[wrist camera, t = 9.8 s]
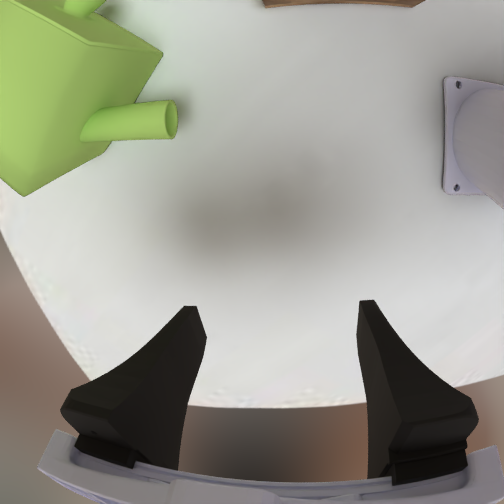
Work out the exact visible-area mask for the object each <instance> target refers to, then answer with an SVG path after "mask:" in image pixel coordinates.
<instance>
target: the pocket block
mask: <svg viewBox="0 0 504 504" xmlns="http://www.w3.org/2000/svg"><path fill="white" fill-rule="evenodd" d="M262 1H263V3H264V5H265V7H266V8H271V7H280V6H290V5H303V4H325V3H358V4H380V5H393V6H403V7H414V6H416V5H418V4H420V3H421V2H423V1H425V0H262Z"/></svg>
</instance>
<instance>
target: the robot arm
mask: <svg viewBox="0 0 504 504" xmlns="http://www.w3.org/2000/svg"><path fill="white" fill-rule="evenodd" d="M457 81H458V82H459V84H460V86H459V88H457V87H456V82H457ZM444 99H445V158H444V176H443V190H444V191H445V192H446V193H447V194H450V195H487V196H489V197H490V198H491V199H492V200H494V201H495V202H496V203H497V204H498V205H499V206H501V207H502V208H503V209H504V85H500V84H495V83H490V82H485V81H479V80H473V79H467V78H460V77H453V76H447V77H446V78H445V79H444ZM456 184H458V187H457V188H456V189H455V190H454V186H455V185H456ZM356 335H357V347H358V356H359V362H360V367H361V372H362V377H363V383H364V388H365V394H366V400H367V412H368V478H367V479H366V480H355V481H342V482H318V483H285V482H262V481H261V482H260V481H247V480H236V479H228V478H219V477H212V476H205V475H198V474H193V473H187V472H182V471H178V464H179V452H180V445H181V438H182V431H183V425H184V419H185V415H186V409H187V405H188V401H189V398H190V394H191V391H192V388H193V385H194V383H195V380H196V377H197V374H198V371H199V368H200V365H201V362H202V359H203V355H204V351H205V345H206V340H207V336H206V333H205V330H204V327H203V324H202V321H201V318H200V315H199V312H198V309H197V306H184V307H183V308H182V309H181V310H180V311H179V312H178V313H177V314H176V315H175V316H174V317H173V318H172V319H171V320H170V321H169V322H168V323H167V324H166V325H165V326H164V327H163V328H162V329H161V330H160V331H159V332H158V333H157V334H156V335H155V336H154V337H153V338H152V339H151V340H150V341H149V342H148V343H147V344H146V345H144V346H143V347H142V348H141V349H140V350H139V351H138V352H136V353H135V354H134V355H133V356H131V357H130V358H129V359H127V360H126V361H125V362H123V363H122V364H120V365H118V366H117V367H115V368H114V369H112V370H111V371H109V372H108V373H106V374H104V375H102V376H100V377H98V378H97V379H95V380H93V381H90V382H88V383H86V384H84V385H81V386H79V387H76V388H74V389H71V391H70V393H69V394H68V396H67V398H66V400H65V402H64V403H63V405H62V407H61V409H60V411H61V414H62V416H63V417H64V418H65V420H66V421H67V422H68V423H69V424H70V425H71V426H72V427H73V428H74V429H75V430H76V431H77V432H78V433H79V436H78V438H76V437H74V436H72V435H70V434H68V433H65V432H63V431H60V430H57V429H56V430H55V431H54V433H53V435H52V437H51V439H50V441H49V443H48V445H47V447H46V450H45V451H44V454H43V455H42V458H41V460H40V462H39V464H38V466H37V468H38V469H39V470H40V471H41V472H43V473H44V474H46V475H47V476H49V477H50V478H52V479H53V480H55V481H56V482H58V483H59V484H61V485H63V486H64V487H66V488H67V489H69V490H71V491H73V492H75V493H78V494H80V495H82V496H84V497H86V498H89V499H91V500H93V501H95V502H98V503H100V504H496V503H497V502H499V501H501V500H502V499H504V477H503V472H502V467H501V462H500V458H499V453H498V449H497V446H496V445H494V446H491V447H487V448H484V449H481V450H478V451H475V452H472V453H470V454H468V455H467V456H466V453H465V449H466V448H467V441H466V438H467V437H468V436H469V435H470V433H471V432H472V431H473V430H474V429H475V427H476V426H477V424H478V420H479V418H478V415H477V412H476V409H475V406H474V404H473V402H472V400H471V398H470V397H468V396H466V395H465V394H463V393H461V392H460V391H458V390H456V389H455V388H453V387H452V386H450V385H449V384H448V383H446V382H445V381H443V380H442V379H441V378H440V377H438V376H437V375H436V374H435V373H433V372H432V371H431V370H430V369H429V368H428V367H427V366H426V365H424V364H423V363H422V362H421V361H420V360H419V359H418V358H417V357H416V356H415V355H414V353H413V352H412V351H411V350H410V349H409V348H408V347H407V346H406V344H405V343H404V342H403V341H402V339H401V338H400V337H399V336H398V334H397V333H396V332H395V330H394V329H393V328H392V326H391V325H390V324H389V322H388V321H387V319H386V318H385V316H384V315H383V313H382V312H381V310H380V308H379V307H378V305H377V304H376V302H375V301H374V300H363V301H360V302H359V313H358V324H357V334H356Z"/></svg>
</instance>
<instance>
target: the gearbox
mask: <svg viewBox="0 0 504 504" xmlns="http://www.w3.org/2000/svg"><path fill="white" fill-rule="evenodd" d="M105 1H106V0H0V178H1V179H2V180H3V181H4V182H5V183H6V184H8V185H9V186H10V187H11V188H12V189H13V190H15V191H16V192H17V193H18V194H20V195H21V196H23V197H25V196H27V195H29V194H31V193H32V192H34V191H36V190H38V189H39V188H41V187H43V186H44V185H46V184H48V183H50V182H51V181H53V180H55V179H57V178H58V177H60V176H62V175H64V174H66V173H67V172H69V171H71V170H73V169H75V168H77V167H78V166H80V165H82V164H84V163H86V162H88V161H90V160H91V159H93V158H95V157H97V156H99V155H101V154H102V153H104V152H105V150H106V149H107V147H108V146H109V144H110V143H111V141H119V140H146V139H173V138H174V137H175V135H176V132H177V127H178V113H177V108H176V104H175V102H174V101H173V100H164V101H153V102H144V103H135V104H134V102H135V100H136V99H137V97H138V95H139V94H140V92H141V90H142V89H143V87H144V85H145V84H146V82H147V80H148V79H149V77H150V75H151V74H152V72H153V71H154V69H155V67H156V66H157V64H158V63H159V61H160V59H161V58H162V56H163V53H162V52H161V51H159V50H158V49H156V48H155V47H153V46H152V45H150V44H149V43H147V42H145V41H144V40H142V39H140V38H139V37H137V36H136V35H134V34H132V33H131V32H129V31H127V30H126V29H124V28H122V27H120V26H119V25H117V24H115V23H113V22H112V21H110V20H108V19H106V18H104V17H103V16H101V15H99V14H97V13H95V12H94V11H95V10H96V9H97V8H99V7H100V6H101V5H102V4H103V3H104V2H105Z"/></svg>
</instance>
